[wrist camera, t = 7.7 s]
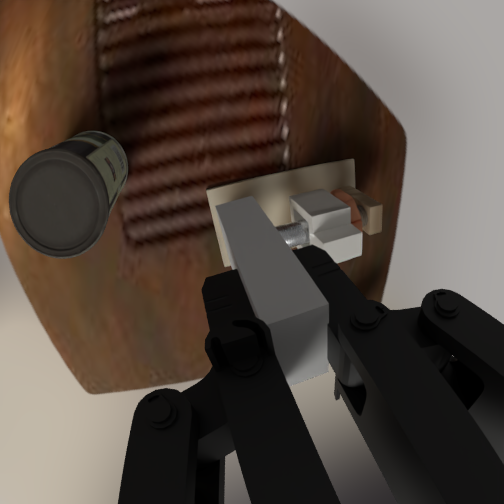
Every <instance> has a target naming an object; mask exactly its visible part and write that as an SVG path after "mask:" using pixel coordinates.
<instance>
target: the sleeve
mask: <svg viewBox="0 0 504 504" xmlns="http://www.w3.org/2000/svg"><path fill="white" fill-rule="evenodd" d="M289 203H290V211H291V220H292V222H294V221H298V220H302V219H305V220H306V221H307V222H308V225H309V238H310V242H309V243H305V244H302V245H298V246H296V247H297V248H298V249H299V248H303V247H306V246H309V245H312V244H313V245H315V246H317V247H319V248H321V249H323V250H325V251H326V252H327V253H328V254H329V255H330V256H331V258H332V259H333V260H334V262H336V263H340V262H343V261H346V260H349V259H351V258H354V257H357V256H360V255H362V232H361V231H360V230H359V229H357V228H356V227H355V226H354V225H352V224H351V207H350V206H348V205H347V204H345V203H344V202H342V201H341V200H339V199H338V198H336V197H335V196H333V195H332V194H330V193H329V192H327V191H326V190H324V189H318V190H314V191H309V192H305V193H301V194H296V195H292V196H289Z"/></svg>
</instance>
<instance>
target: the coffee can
mask: <svg viewBox="0 0 504 504" xmlns="http://www.w3.org/2000/svg"><path fill="white" fill-rule="evenodd" d="M127 175H128V162H127V157H126V155H125V152H124V150H123V148H122V146H121V145H120V144H119V143H118V142H117V141H116V140H115V138H113V137H112V136H110V135H108V134H106V133H103V132H100V131H86V132H82V133H79V134H77V135H75V136H74V137H72V138H70V139H68V140H66V141H64V142H61V143H59V144H57V145H55V146H53V147H51V148H49V149H45V150H42V151H40V152H37V153H35V154H34V155H32V156H30V157H29V158H28V159H27V160H26V161H25V162H24V163H23V164H22V165H21V166H20V167H19V169H18V170H17V172H16V174H15V176H14V178H13V181H12V183H11V187H10V193H9V208H10V214H11V218H12V221H13V223H14V226H15V228H16V230H17V232H18V233H19V235H20V236H21V237H22V239H23V240H24V241H25V242H26V243H27V244H28V245H29V246H30V247H31V248H33V249H34V250H36V251H37V252H39V253H41V254H43V255H46V256H49V257H53V258H64V259H65V258H72V257H76V256H79V255H81V254H83V253H85V252H86V251H88V250H89V249H91V248H92V247H93V246H94V245H95V244H96V243H97V241H98V240H99V239H100V237H101V236H102V234H103V232H104V230H105V227H106V224H107V221H108V217H109V215H110V212H111V210H112V208H113V206H114V204H115V202H116V200H117V197H118V195H119V193H120V192H121V190H122V188H123V187H124V185H125V182H126V179H127Z"/></svg>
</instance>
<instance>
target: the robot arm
mask: <svg viewBox="0 0 504 504" xmlns="http://www.w3.org/2000/svg"><path fill="white" fill-rule="evenodd" d="M215 208H216V211H217V215H218V219H219V223H220V227H221V230H222V234H223V238H224V242H225V245H226V249H227V253H228V257H229V260H230V264H231V266H232V269H233V270H230V271H227V272H224V273H220V274H217V275H214V276H210V277H207V278H206V279H205V282H204V285H203V287H202V294H203V299H204V303H205V309H206V313H207V319H208V324H209V328H210V332H209V333H208V335H207V337H206V339H205V351H206V353H207V355H208V357H209V359H210V361H211V363H212V365H213V366H212V368H211V370H210V372H209V373H208V374H207V375H206V376H205V377H204V378H203V379H202V380H201V381H199V382H198V383H197V384H195V385H193V386H191V387H190V388H188V389H186V390H184V391H183V392H179V391H178V390H175V389H168V388H164V389H159V390H155V391H153V392H151V393H149V394H147V395H146V396H145V397H144V398H143V399H142V400H141V401H140V402H139V403H138V405H137V407H136V410H135V412H134V416H133V420H132V426H131V430H130V436H129V441H128V446H127V451H126V456H125V462H124V468H123V474H122V480H121V487H120V493H119V500H118V504H224V485H225V481H224V480H225V456H226V455H228V454H230V453H231V452H233V451H234V450H236V453H237V457H238V460H239V464H240V467H241V471H242V474H243V478H244V481H245V484H246V488H247V491H248V494H249V497H250V500H251V504H341V503H340V501H339V499H338V497H337V495H336V492H335V490H334V488H333V486H332V483H331V481H330V479H329V477H328V474H327V472H326V470H325V468H324V466H323V463H322V461H321V459H320V456H319V454H318V452H317V450H316V447H315V445H314V443H313V441H312V438H311V436H310V434H309V431H308V429H307V427H306V425H305V422H304V420H303V418H302V415H301V413H300V411H299V408H298V406H297V404H296V401H295V399H294V397H293V394H292V392H291V390H290V387H289V386H292V385H294V384H297V383H300V382H303V381H306V380H308V379H311V378H314V377H316V376H319V375H321V374H324V373H326V372H328V368H329V363H330V365H331V367H332V368H333V370H334V372H335V373H336V376H335V390H334V395H335V399H336V400H338V399H339V398H340V394H341V396H342V398H343V400H344V402H345V404H346V406H347V407H348V409H349V411H350V413H351V415H352V417H353V419H354V421H355V423H356V424H357V426H358V428H359V430H360V432H361V434H362V436H363V438H364V440H365V442H366V443H367V445H368V447H369V449H370V451H371V453H372V455H373V457H374V459H375V461H376V463H377V464H378V466H379V468H380V470H381V472H382V474H383V476H384V478H385V480H386V482H387V484H388V486H389V488H390V489H391V491H392V493H393V495H394V497H395V499H396V501H397V503H398V504H504V324H502V323H501V322H499V321H498V320H497V319H495V318H494V317H492V316H491V315H489V314H488V313H487V312H485V311H484V310H482V309H481V308H479V307H477V306H476V305H475V304H473V303H472V302H470V301H469V300H467V299H466V298H464V297H463V296H461V295H460V294H458V293H455V292H453V291H451V290H445V289H438V290H433V291H431V292H430V293H428V294H426V296H425V297H424V299H423V301H422V304H421V307H415V308H409V309H402V310H389V309H388V308H387V307H386V306H385V305H383V304H382V303H379V302H376V301H374V300H367V299H366V298H365V297H364V296H363V294H362V293H361V292H360V291H359V290H358V288H357V287H356V286H355V285H354V284H353V282H352V281H351V280H350V279H349V278H348V276H347V275H346V274H345V273H344V272H343V270H341V269H340V267H339V266H338V265H337V263H336V262H334V260H333V259H332V258H331V256H330V255H329V254H328V253H327V252H326V251H325V250H323V249H321V248H319V247H317V246H315V245H313V244H312V245H309V246H306V247H303V248H299V249H296V250H293V251H292V250H291V249H290V247H289V246H288V244H287V243H286V241H285V240H284V239H283V237H282V236H281V235H280V233H279V232H278V230H277V229H276V228H275V226H274V225H273V223H272V222H271V221H270V219H269V218H268V216H267V215H266V214H265V212H264V211H263V210H262V208H261V207H260V206H259V204H258V203H257V201H256V200H255V199H254V197H253V196H249V197H245V198H242V199H238V200H234V201H231V202H227V203H223V204H220V205H216V206H215ZM452 355H453V356H454V357H453V356H452Z"/></svg>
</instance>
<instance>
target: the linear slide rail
mask: <svg viewBox="0 0 504 504" xmlns="http://www.w3.org/2000/svg"><path fill="white" fill-rule="evenodd" d="M318 189H324V190H326V191H327V192H329V193H330V192H331V191H332V190H334V189H341V190H342V191H344V192H345V193H347V194H349V195H350V196H352V198H353V199H354V201H355V203H356V206H358V205H361V206H363V207H364V209H365V210H366V213H367V216H368V223H367V225H366V226H365V227H362V230H364V231H365V232H366V233H367V234H369V235H372V234H375V233H378V232H381V228H382V204H380V203H379V202H377V201H376V200H374V199H372V198H371V197H369V196H367V195H365V194H364V193H362V192H360V191H359V190H357V189H355V165H354V159H346V160H340V161H334V162H329V163H323V164H318V165H313V166H307V167H302V168H297V169H292V170H288V171H283V172H278V173H273V174H269V175H264V176H260V177H255V178H251V179H247V180H242V181H238V182H234V183H230V184H226V185H222V186H218V187H214V188H210V189H206V192H207V196H208V200H209V205H210V209H211V213H212V217H213V222H214V226H215V230H216V234H217V238H218V242H219V246H220V250H221V254H222V258H223V262H224V266H225V267H226V266H230V265H231V264H230V260H229V257H228V253H227V249H226V245H225V242H224V238H223V234H222V230H221V227H220V223H219V219H218V215H217V211H216V208H215V206H216V205H220V204H223V203H227V202H231V201H234V200H238V199H242V198H245V197H249V196H253V197H254V199H255V200H256V201H257V203H258V204H259V206H260V207H261V208H262V210H263V211H264V212H265V214H266V215H267V216H268V218H269V219H270V221H271V222H272V223H273V225H274V226H279V225H283V224H287V223H291V222H292V220H291V211H290V203H289V196H292V195H296V194H301V193H305V192H309V191H314V190H318ZM295 247H296V246H295ZM291 248H294V247H291ZM291 248H290V249H291Z"/></svg>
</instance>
